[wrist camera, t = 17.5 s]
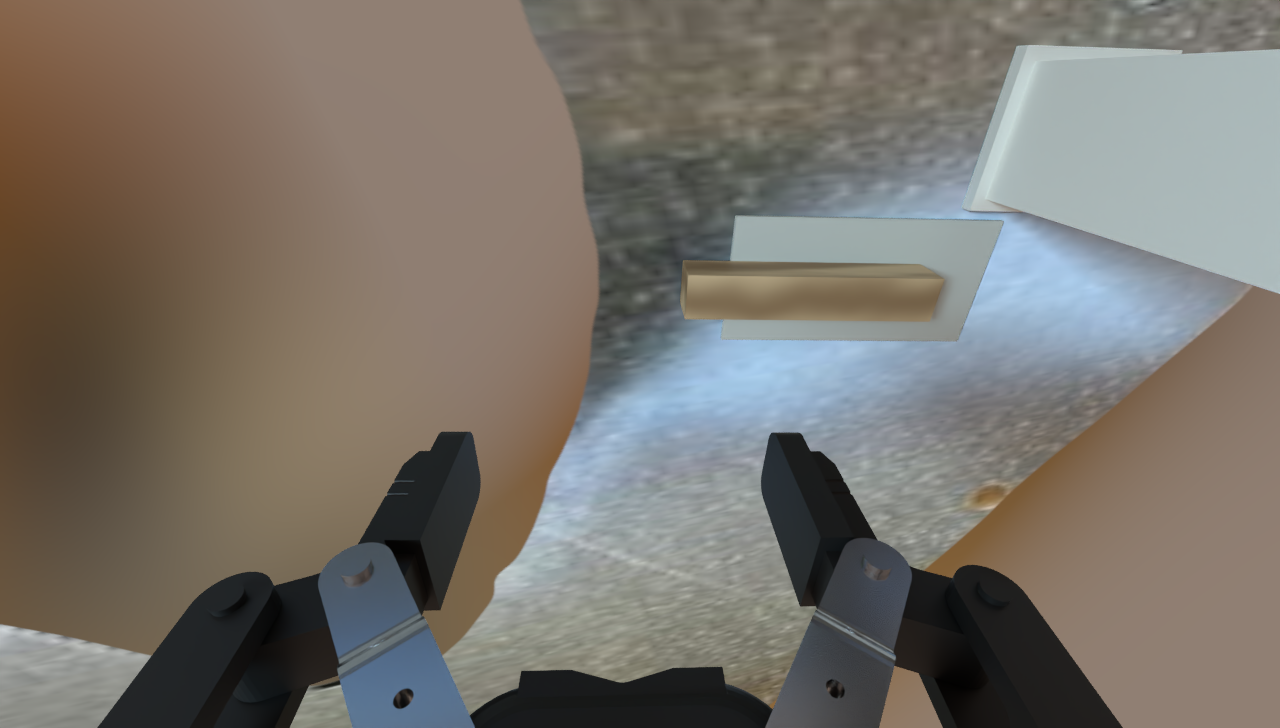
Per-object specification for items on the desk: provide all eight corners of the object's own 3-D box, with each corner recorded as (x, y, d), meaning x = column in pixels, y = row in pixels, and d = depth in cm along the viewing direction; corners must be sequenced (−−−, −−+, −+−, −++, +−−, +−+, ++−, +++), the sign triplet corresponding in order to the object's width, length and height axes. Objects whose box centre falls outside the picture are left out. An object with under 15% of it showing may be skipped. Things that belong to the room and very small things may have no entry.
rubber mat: (735, 215, 43) (736, 216, 43) (1000, 220, 44) (1003, 221, 44) (720, 337, 49) (721, 339, 49) (954, 339, 50) (956, 341, 50)
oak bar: (683, 260, 44) (688, 275, 41) (920, 264, 45) (944, 279, 42) (680, 301, 46) (684, 319, 43) (907, 304, 47) (929, 321, 44)
